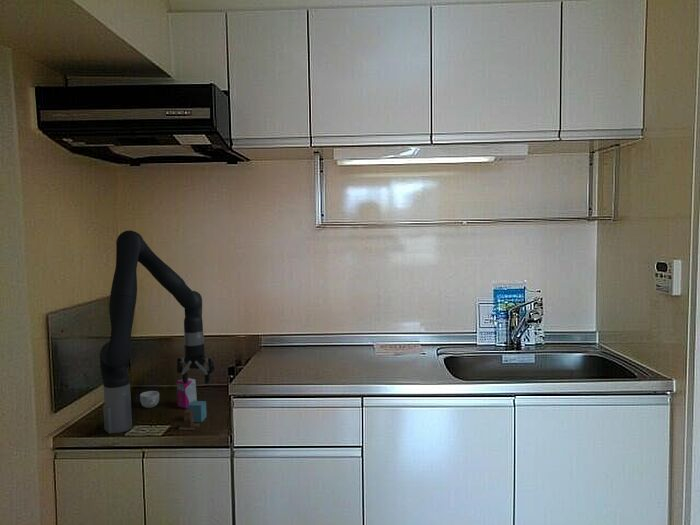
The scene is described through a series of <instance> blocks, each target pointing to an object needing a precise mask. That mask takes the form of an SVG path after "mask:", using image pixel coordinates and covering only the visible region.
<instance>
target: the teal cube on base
mask: <svg viewBox="0 0 700 525" xmlns="http://www.w3.org/2000/svg"><path fill="white" fill-rule="evenodd" d="M187 410H193V421H194V423H202V422H204V421H205V420H206V419H207V415H208V414H207V401H206V400H197V401H193V402H191V403H190V404H189V405H188V409H187ZM205 418H206V419H205Z"/></svg>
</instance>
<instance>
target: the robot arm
mask: <svg viewBox="0 0 700 525" xmlns="http://www.w3.org/2000/svg"><path fill="white" fill-rule="evenodd" d="M115 243H116V247H115V250H116V255H115V256H116V257H115V269H114V274H113V278H112V283H111V288H110V295H109V301H108V302H109V303H108V304H109V305H108V311H109V312H108V313H109V321H110V322H109V323H110V337H109V341H108V342H106V343H105V344H104V345H102V347H101V349H100V353H99V361H100V362H99V363H100V376H101V379H102V383H103V400H104V404H103V405H102V411H103V424H104V425H103V427H104V430H105V432H107V434H119V433H125V432H127V431H130V430H131V429H132V428H133V419H132V418H133V416H132V400H131V395H132V394H131V380H130V378H131V377H130V375H129V373H128V369H127V365H128V363H129V362H130V359H131V357H132V356H131V355H132V331H133V330H132V329H133V324H134V319H135V318H134V317H135V311H136V310H135V309H136V305H137V298H138V297H137V296H138V275H137V271H138V270H137V269H138V262H139V263H140V264H141V266H143V267H144V269H146V270H147V272H149V274H151V275H152V276H153V278H154V279H155V280H156V281H157V282H158V283H159V285H161V286H162V288H164V289H165V290H166V291H167V292H168V293H169V294H171V295H172V296H173V298H174V299H175V300H176V301H177V303H179V305H180V306H181V307H182V308H183V309H184V320H183V343H184V357H183V356H179V357H178V358H177V359H176V373H177V374H181V375H182V376H181V377H182V379H183V382H184V384H187V383H188V378H189V376H188V371H189V370H190V369H191V370H194V369H195V370H196V369H197V370H198V369H199V370H201V371H202V372H203V374H204V384H205V385H208V384H209V383H210V381H211V374H212V373H214V372H215V364H214V357H213V356H210V357H206V353H205V351H206V350H205V335H204V328H203V327H204V326H203V325H204V324H203V298H202V295H201V294H200V292H198V291H196V290H192V289H191V288H190V287H189V286H188V285H187V284H186V282H185V280H184V279H183V278H182V277H181V276H180V275H179V274H178V273H177V272H176V271H174V269H172V268H171V267H170V266H169V265H168V264H166V262H164V261H163V260H162V259H161V258H160V257H159V256H158V255H157V254H156V253H155V252H154V251H153V250H152V249H151V248H150V246H149V245H148V244H147V243H146V241H145V240H144V238H143V237H142V235H141V234H140V233H139V232H137V231H134V230H129V229H128V230H124V231H122V232H121V233H120V234H119V235H118V236H117V238H116V242H115ZM184 362H185V364H186V365H185V367H184V366H183V363H184ZM205 362H206V363H207V364H208V366H207V364H206V363H205ZM183 367H184V368H183Z"/></svg>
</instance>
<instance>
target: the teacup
mask: <svg viewBox="0 0 700 525" xmlns="http://www.w3.org/2000/svg"><path fill="white" fill-rule="evenodd" d="M139 401H140V404H141V406H142V407H144V408H145V409H150V408H155V407H156V406H157V405H158V404H159V402H160V392H159V391H156V390H148V391H143V392H141V393H140V394H139Z"/></svg>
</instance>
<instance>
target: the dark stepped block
mask: <svg viewBox="0 0 700 525" xmlns="http://www.w3.org/2000/svg"><path fill="white" fill-rule="evenodd" d="M197 426H198V427H199V426H201V425H200V423H198V422H194V421H193V410H188V409H184V411H183V424H182V425H181V426H179V427H178V431H187V430H194V429H195V428H196V427H197ZM198 427H197V428H198ZM197 428H196V429H197ZM196 429H195V430H196ZM195 430H194V431H195Z"/></svg>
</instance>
